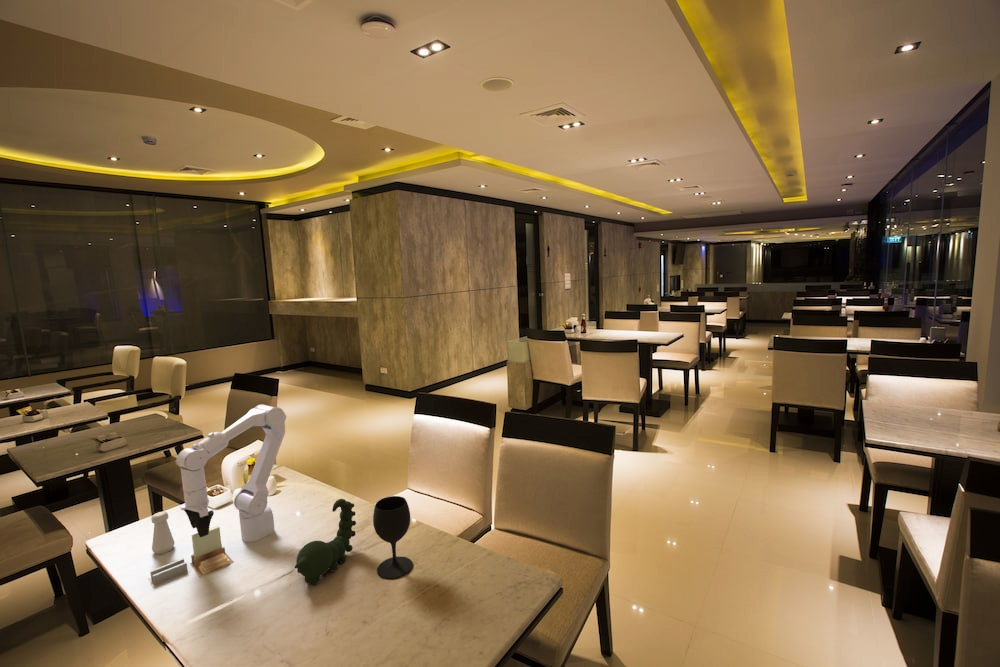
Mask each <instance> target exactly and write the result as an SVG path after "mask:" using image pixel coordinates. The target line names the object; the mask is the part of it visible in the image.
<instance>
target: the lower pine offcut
mask: <svg viewBox="0 0 1000 667" xmlns="http://www.w3.org/2000/svg"><path fill="white" fill-rule="evenodd" d="M225 556H226V555H225ZM229 563H230V560H229V559H228V558H227V561H225V562H223V563H221V564H218V565H216V566H214V567H211V568H209V569H206V570H204V569H203V568H202V566H201V565H200V566H199V570H200V571H201V572H202V574H206V573H208V572H211V571H213V570H215V569H218V568H220V567H222V566H225V565H227V564H229ZM229 565H230V564H229ZM227 566H228V565H227ZM225 567H226V566H225ZM222 568H223V567H222ZM220 569H221V568H220ZM218 570H219V569H218ZM215 571H216V570H215ZM213 572H214V571H213ZM211 573H212V572H211ZM208 574H209V573H208ZM206 575H207V574H206Z"/></svg>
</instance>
